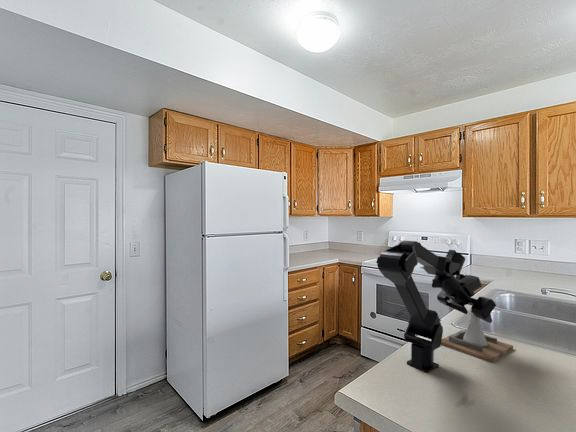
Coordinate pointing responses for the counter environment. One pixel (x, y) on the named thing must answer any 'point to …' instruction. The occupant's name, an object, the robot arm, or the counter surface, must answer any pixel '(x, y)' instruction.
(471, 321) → the flask
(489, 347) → the board
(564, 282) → the counter surface
